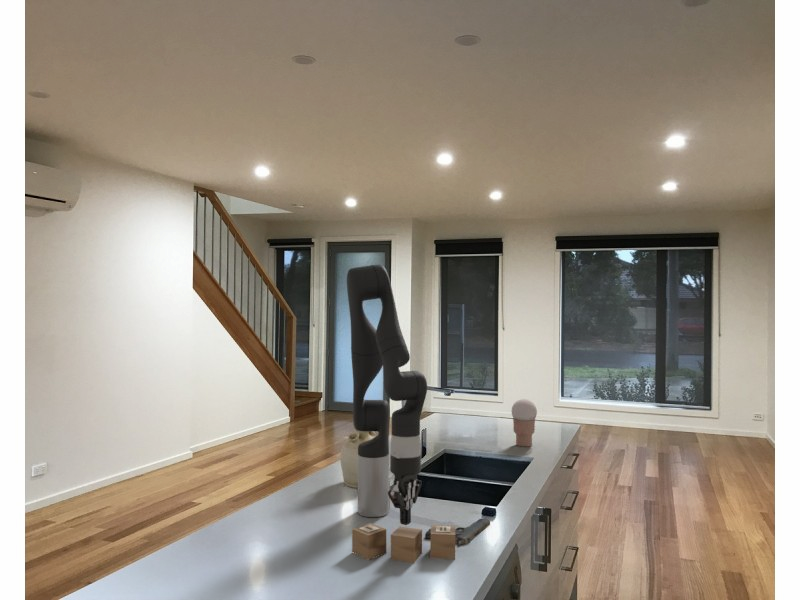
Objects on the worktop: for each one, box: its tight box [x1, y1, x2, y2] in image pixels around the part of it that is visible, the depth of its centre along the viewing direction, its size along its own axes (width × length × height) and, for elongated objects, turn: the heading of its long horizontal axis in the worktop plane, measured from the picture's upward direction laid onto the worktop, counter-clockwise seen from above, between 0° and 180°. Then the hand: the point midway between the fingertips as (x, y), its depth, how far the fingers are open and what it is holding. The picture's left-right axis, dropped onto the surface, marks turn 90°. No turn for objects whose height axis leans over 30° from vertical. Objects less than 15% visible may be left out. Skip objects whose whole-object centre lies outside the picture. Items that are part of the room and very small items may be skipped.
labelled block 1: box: [351, 522, 387, 560], centre depth 152 cm, size 6×6×6 cm
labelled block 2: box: [429, 524, 456, 560], centre depth 152 cm, size 6×6×6 cm
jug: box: [339, 423, 376, 489], centre depth 210 cm, size 15×16×25 cm
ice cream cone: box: [511, 398, 538, 447], centre depth 268 cm, size 11×11×20 cm
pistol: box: [424, 517, 491, 547], centre depth 167 cm, size 2×19×12 cm
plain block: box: [390, 525, 423, 564], centre depth 150 cm, size 6×6×6 cm
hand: (405, 523), depth 150 cm, fingers closed
